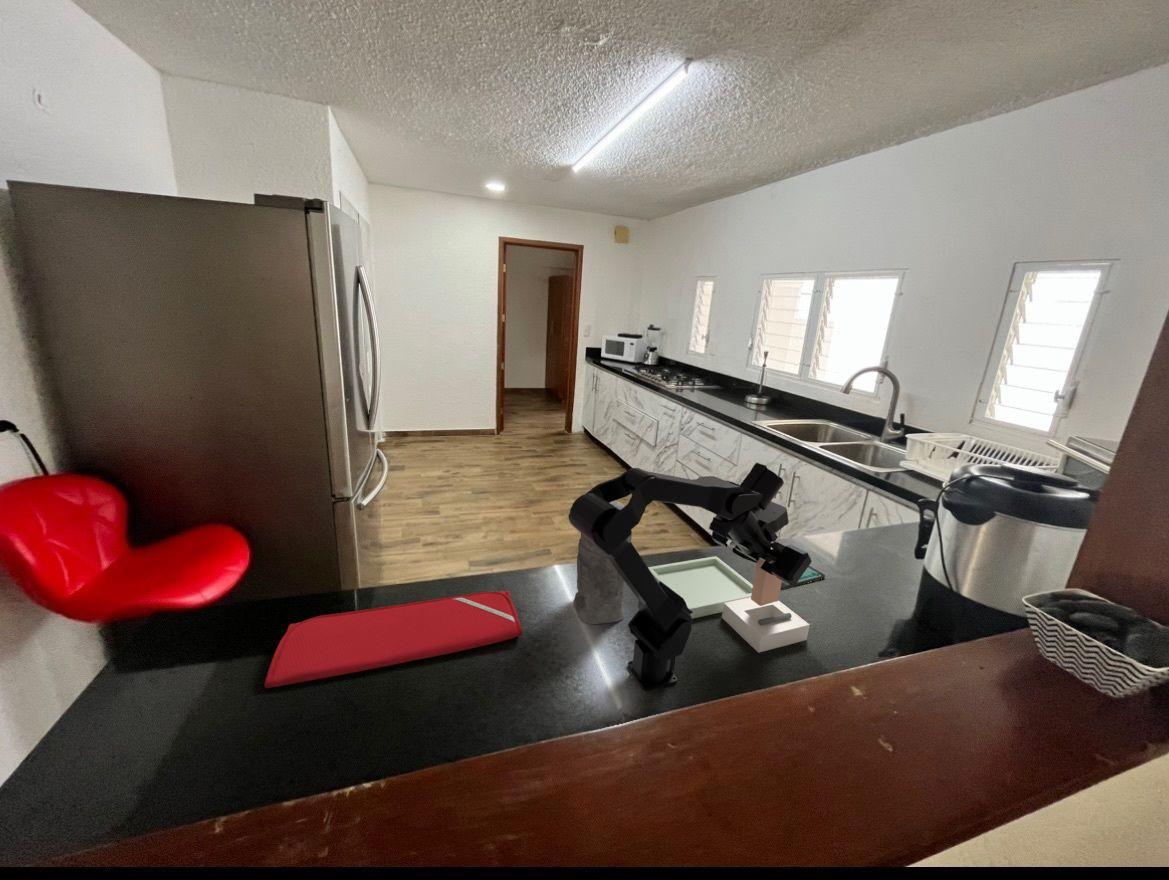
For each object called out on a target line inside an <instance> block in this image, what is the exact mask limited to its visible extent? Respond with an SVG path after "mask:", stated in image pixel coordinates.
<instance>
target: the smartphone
mask: <svg viewBox="0 0 1169 880" xmlns="http://www.w3.org/2000/svg"><path fill="white" fill-rule="evenodd" d="M821 578H824V579H825V578H826V574H824V573H822V572H821V571H819V570H818V569H816V568H814V567H812V566H811V565H809V566H808V568H807V569H806V571H805V572H804V573H803V575H802V576H801V578H800V579H799V581H798V582H797V583H796V585H797V586H800V585H799V584H801V585H806V584H805V583H807V584H809V583H808V582H810V581H815V580H819V581H821V580H822V579H821ZM820 579H821V580H820ZM815 582H816V581H815ZM810 583H811V582H810ZM791 586H794V587H796V586H795V585H789V584H787V583H786V582H784V581H782V583H781V589H780V590H785V589H784V588H786V589H788V587H790V588H792V587H791Z"/></svg>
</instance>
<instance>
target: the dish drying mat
mask: <svg viewBox="0 0 1169 880" xmlns="http://www.w3.org/2000/svg"><path fill="white" fill-rule="evenodd" d="M523 632H524V631H523V627H522V625H521V623H520V620H519V616H518V614H517V610H516V608H515V605H514V603H513V601H512V598H511V593H510V591H509V590H506V591H505V590H504V591H483V592H475V593H469V594H463V595H458V596H450V597H444V598H443V597H442V598H436V599H429V600H423V601H416V602H409V603H403V604H397V605H388V606H382V607H375V608H368V609H362V610H354V611H347V612H340V613H331V614H323V615H318V616H315V617H311V618H308V619H305V620H303V621H301V622H297V623H290V624H289V625H288V627H287V630H286V632H285V634H284V635H283V636H282V638H281V639H280V641H279V643H278V645H277V647H276V649H275V651H274V654H273V657H272V659H271V662H270V664H269V667H268V670H267V673H266V677H265V681H264V688H265V689H271V688H275V687H277V688H278V687H282V686H288V685H292V684H298V683H305V682H309V681H314V680H315V681H316V680H319V679H327V678H332V677H338V676H342V675H348V674H354V673H359V672H362V671H367V670H373V669H379V668H382V667H383V668H384V667H389V666H393V665H398V664H404V663H407V662H412V661H417V660H423V659H428V658H433V657H437V656H443V655H448V654H453V653H457V652H462V651H466V650H470V649H474V648H479V647H483V646H486V645H487V646H489V645H492V644H497V643H500V642H503V641H507V640H508V641H509V640H511V639H514V638H518V637H519V636H522V635H523Z"/></svg>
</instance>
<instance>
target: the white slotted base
mask: <svg viewBox="0 0 1169 880" xmlns="http://www.w3.org/2000/svg"><path fill="white" fill-rule="evenodd" d="M721 618H722V619H723V620H724V621H725V622H726V623H727V624H728V625H729V626H730V627H731V628H732V629H733V630H734V631H735V632H736V633H737V634H738V635H740V637H741V638H742V639H743V640H744V641H746V643H748V644H749V645H750V646H751V647H752V648H753V649H754V650H755V651H756V652H757V653H762V652H766V651H770V650H775V649H777V648H781V647H782V648H783V647H787V646H789V645H792V644H796V643H801V642H804V641H807V640H808V634H809V631H810V625H811V624H810V623H809V622H807V621H806V620H804V619H803V618H802V617H801V616H799V615H798V614H797V613H795V611H793V610H792V609H790V608H789V607H788V606H786V605H785V604H784V603H782V601H780V599H779V600H778V601H776V602H773V603H769V604H766V605H763V606H759V605H758V604H757V603H755V602H754V601H752V600H751V597H749V598H745V599H740V600H735V601H730V602H726V603H724V606H723V612H721Z"/></svg>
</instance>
